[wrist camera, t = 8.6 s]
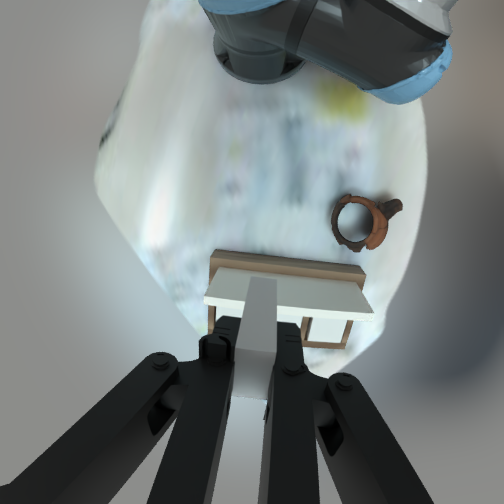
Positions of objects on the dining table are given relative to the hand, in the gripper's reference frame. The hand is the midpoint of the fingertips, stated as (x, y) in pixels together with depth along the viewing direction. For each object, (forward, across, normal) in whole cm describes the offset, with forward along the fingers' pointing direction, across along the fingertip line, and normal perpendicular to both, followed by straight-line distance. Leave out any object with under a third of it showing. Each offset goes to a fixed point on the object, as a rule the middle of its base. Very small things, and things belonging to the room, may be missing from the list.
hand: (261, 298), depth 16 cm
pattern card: (+25, +4, -10) cm, 27 cm away
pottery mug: (+30, +15, +1) cm, 33 cm away
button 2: (+27, +12, -18) cm, 35 cm away
